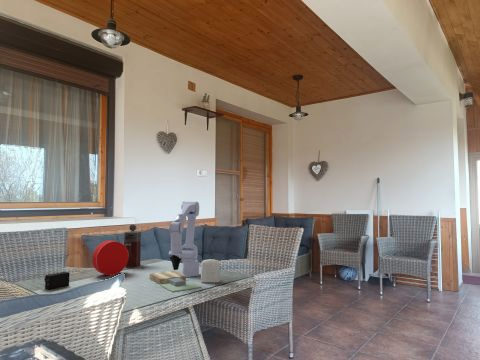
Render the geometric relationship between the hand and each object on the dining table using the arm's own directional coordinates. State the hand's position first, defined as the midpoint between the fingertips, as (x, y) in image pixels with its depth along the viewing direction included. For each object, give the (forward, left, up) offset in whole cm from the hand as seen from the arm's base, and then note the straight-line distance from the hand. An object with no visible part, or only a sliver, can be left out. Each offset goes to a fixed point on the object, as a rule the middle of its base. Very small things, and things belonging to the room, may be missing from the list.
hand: (175, 269), depth 184 cm
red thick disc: (+23, -43, -8) cm, 49 cm away
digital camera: (+54, -27, -8) cm, 61 cm away
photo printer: (-18, +6, -8) cm, 20 cm away
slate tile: (0, +2, -7) cm, 7 cm away
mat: (0, +6, -8) cm, 10 cm away
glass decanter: (+5, -61, -8) cm, 62 cm away
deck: (0, -11, -8) cm, 13 cm away
